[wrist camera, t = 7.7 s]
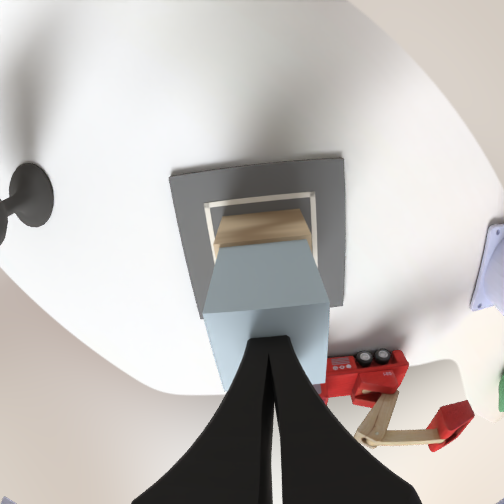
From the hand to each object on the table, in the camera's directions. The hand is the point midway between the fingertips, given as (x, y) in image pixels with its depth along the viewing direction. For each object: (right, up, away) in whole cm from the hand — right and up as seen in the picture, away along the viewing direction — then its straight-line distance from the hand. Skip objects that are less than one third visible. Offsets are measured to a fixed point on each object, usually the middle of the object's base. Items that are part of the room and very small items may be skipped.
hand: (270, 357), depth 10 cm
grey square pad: (0, +4, +9) cm, 10 cm away
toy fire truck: (+9, -6, +13) cm, 17 cm away
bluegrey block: (0, +2, +5) cm, 5 cm away
